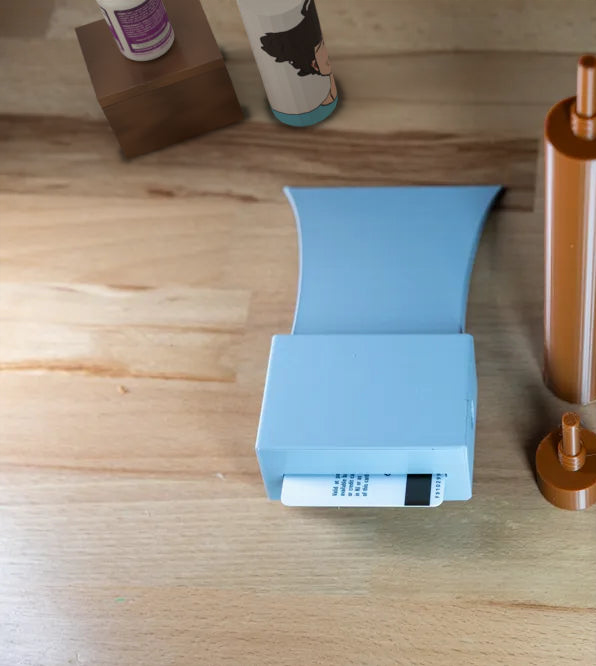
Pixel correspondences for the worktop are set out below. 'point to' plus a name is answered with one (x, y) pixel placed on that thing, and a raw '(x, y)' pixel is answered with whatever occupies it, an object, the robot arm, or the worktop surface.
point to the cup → (291, 58)
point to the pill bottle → (138, 27)
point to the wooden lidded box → (161, 83)
